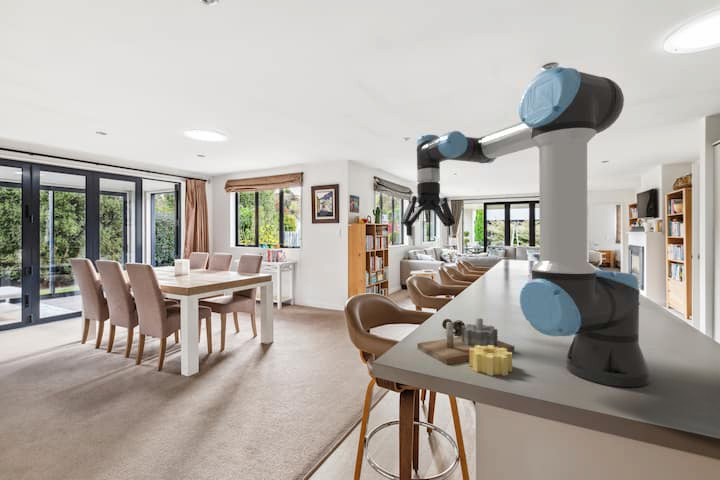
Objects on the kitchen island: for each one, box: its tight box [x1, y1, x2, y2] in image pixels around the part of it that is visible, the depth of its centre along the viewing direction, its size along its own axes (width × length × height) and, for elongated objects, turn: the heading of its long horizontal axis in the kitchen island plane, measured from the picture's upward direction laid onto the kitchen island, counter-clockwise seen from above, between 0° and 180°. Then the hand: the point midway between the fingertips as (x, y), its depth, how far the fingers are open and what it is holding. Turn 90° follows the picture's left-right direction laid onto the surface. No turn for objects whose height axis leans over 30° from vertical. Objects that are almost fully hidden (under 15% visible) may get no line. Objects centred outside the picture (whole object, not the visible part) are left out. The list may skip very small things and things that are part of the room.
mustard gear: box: [469, 345, 513, 377], centre depth 81 cm, size 9×9×4 cm
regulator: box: [441, 318, 466, 337], centre depth 109 cm, size 8×4×15 cm
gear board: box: [417, 317, 515, 365], centre depth 94 cm, size 13×22×8 cm, turn 113°
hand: (428, 245), depth 117 cm, fingers open, 13 cm apart
